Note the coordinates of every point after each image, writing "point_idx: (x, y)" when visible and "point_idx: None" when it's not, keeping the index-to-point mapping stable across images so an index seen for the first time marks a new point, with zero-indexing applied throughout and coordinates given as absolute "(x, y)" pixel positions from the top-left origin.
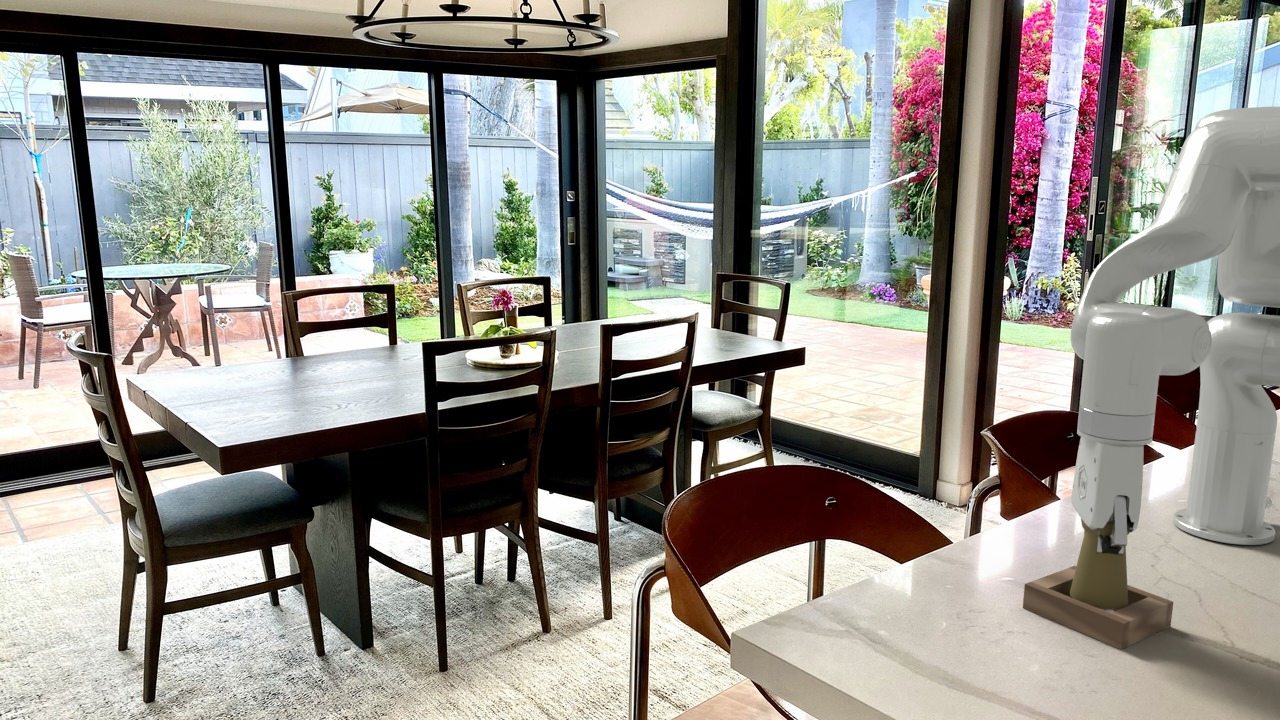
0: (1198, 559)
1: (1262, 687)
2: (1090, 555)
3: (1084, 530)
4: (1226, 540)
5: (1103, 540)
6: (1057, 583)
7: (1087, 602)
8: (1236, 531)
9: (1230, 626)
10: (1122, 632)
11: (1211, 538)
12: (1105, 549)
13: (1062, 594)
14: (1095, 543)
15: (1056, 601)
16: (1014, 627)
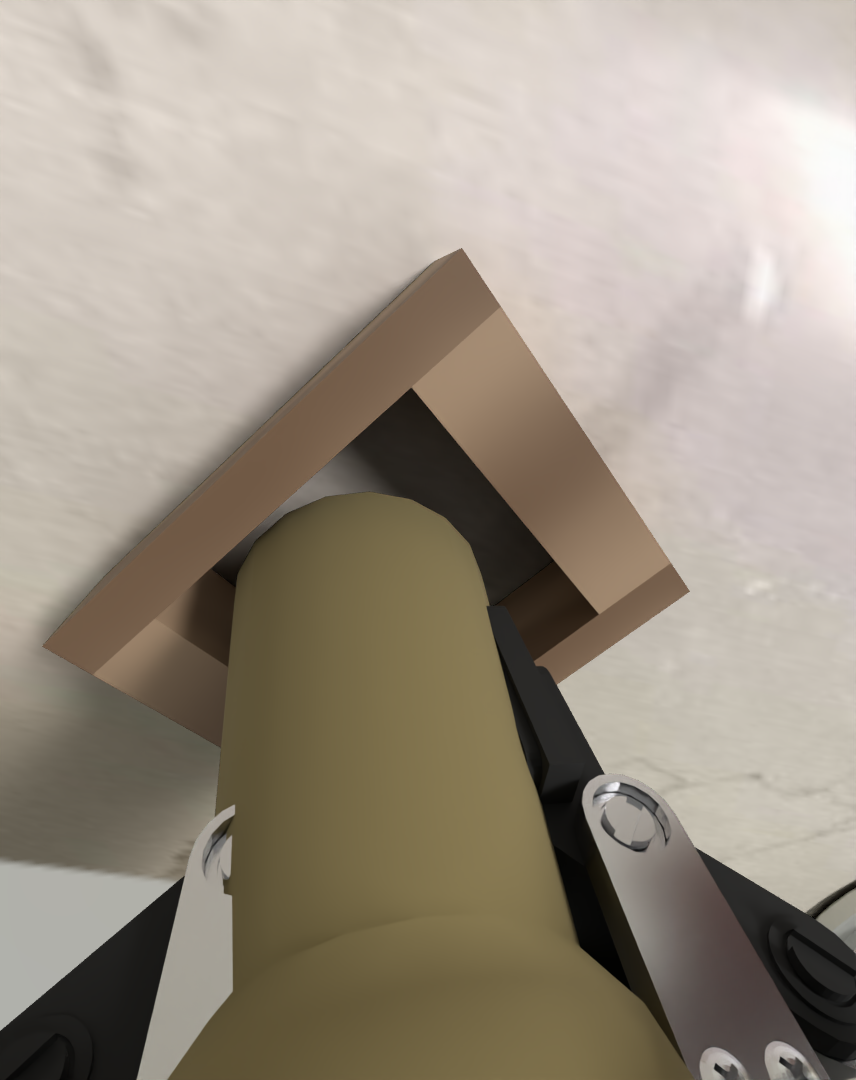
0: (765, 858)
1: (10, 852)
2: (265, 748)
3: (674, 826)
4: (830, 916)
5: (52, 1069)
6: (485, 461)
7: (253, 547)
8: (851, 947)
9: None
10: (68, 617)
11: (851, 897)
12: (110, 941)
13: (335, 448)
14: (239, 900)
15: (296, 401)
16: (171, 121)
